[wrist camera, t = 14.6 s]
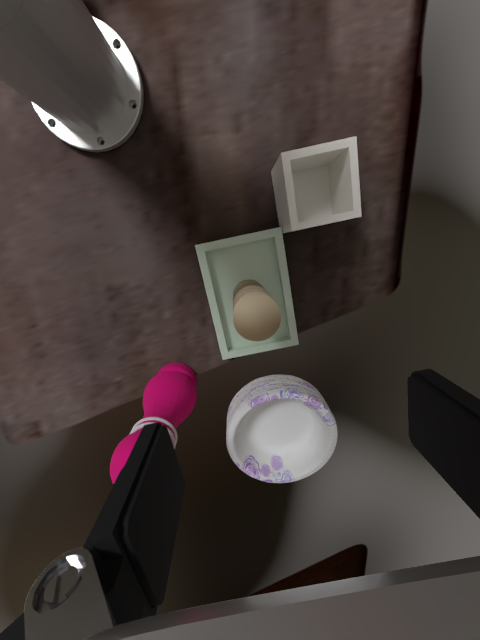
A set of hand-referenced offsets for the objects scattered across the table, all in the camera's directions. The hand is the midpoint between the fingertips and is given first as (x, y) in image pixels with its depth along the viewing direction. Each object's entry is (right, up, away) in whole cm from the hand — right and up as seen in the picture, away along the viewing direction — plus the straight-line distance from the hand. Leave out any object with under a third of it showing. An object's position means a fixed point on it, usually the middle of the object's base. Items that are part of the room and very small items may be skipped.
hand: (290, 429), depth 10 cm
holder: (+6, +20, +24) cm, 32 cm away
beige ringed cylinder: (-1, +7, +26) cm, 27 cm away
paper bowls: (+4, -10, +33) cm, 34 cm away
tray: (-1, +8, +27) cm, 28 cm away
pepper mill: (-12, -5, +31) cm, 33 cm away
